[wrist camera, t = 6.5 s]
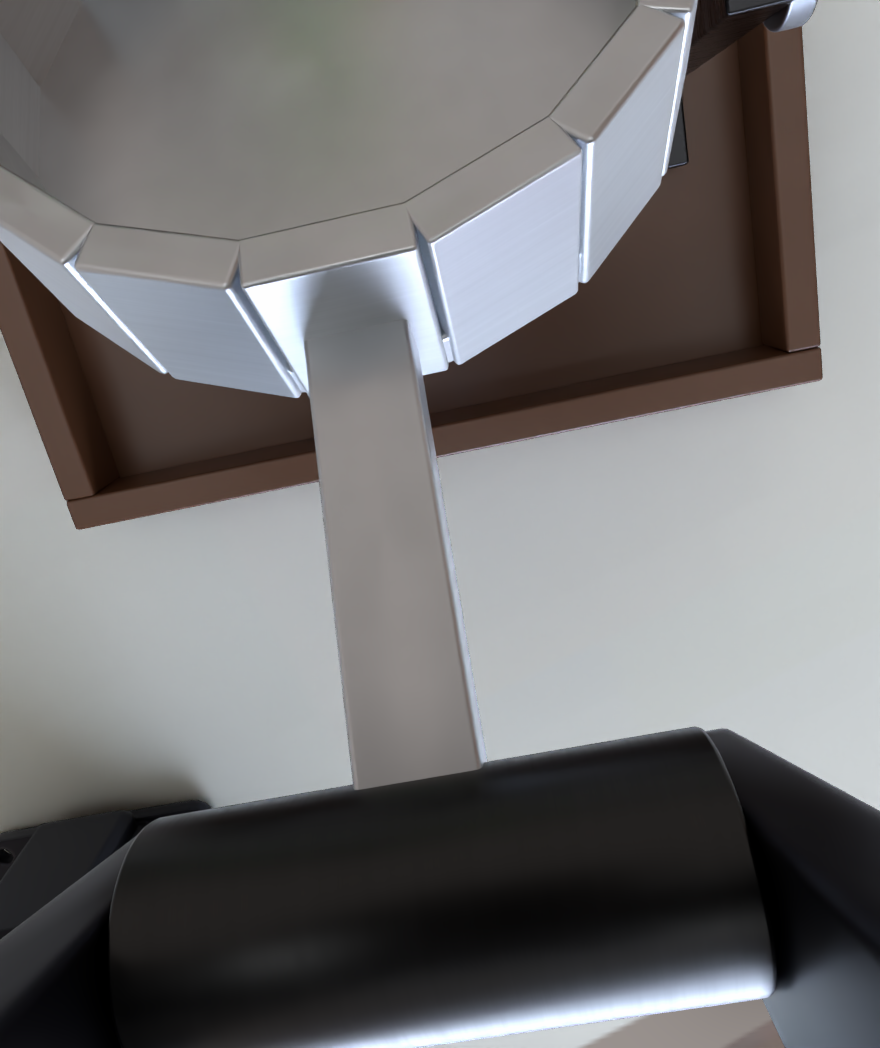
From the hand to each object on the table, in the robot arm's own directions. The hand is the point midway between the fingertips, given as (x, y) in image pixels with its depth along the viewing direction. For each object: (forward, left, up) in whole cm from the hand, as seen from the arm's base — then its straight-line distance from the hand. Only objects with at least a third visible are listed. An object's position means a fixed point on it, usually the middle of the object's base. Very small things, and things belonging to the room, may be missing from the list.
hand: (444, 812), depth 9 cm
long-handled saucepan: (+5, 0, -4) cm, 6 cm away
